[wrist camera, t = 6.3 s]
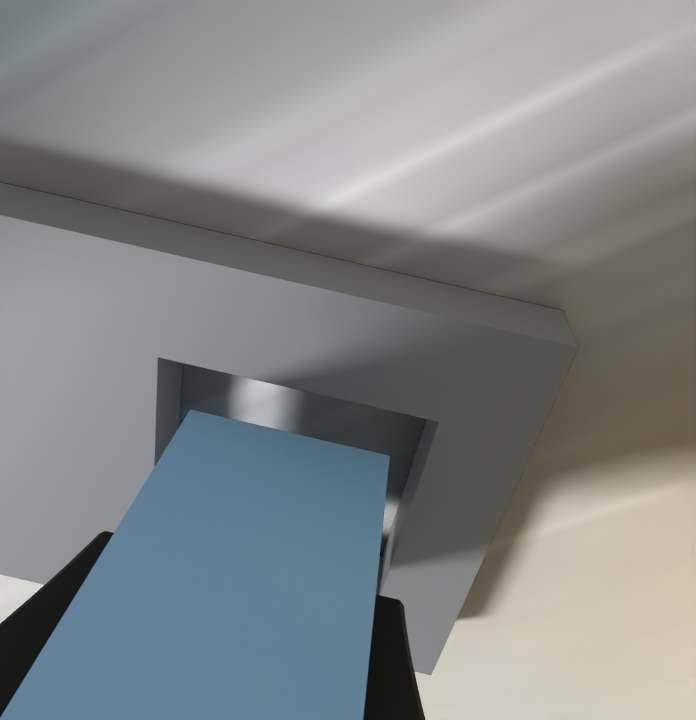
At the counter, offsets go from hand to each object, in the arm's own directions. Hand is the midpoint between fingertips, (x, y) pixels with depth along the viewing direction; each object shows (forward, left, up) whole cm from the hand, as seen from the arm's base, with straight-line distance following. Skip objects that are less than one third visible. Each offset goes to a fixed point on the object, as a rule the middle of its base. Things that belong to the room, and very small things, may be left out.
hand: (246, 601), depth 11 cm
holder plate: (-4, +2, -4) cm, 6 cm away
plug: (0, 0, -2) cm, 2 cm away
